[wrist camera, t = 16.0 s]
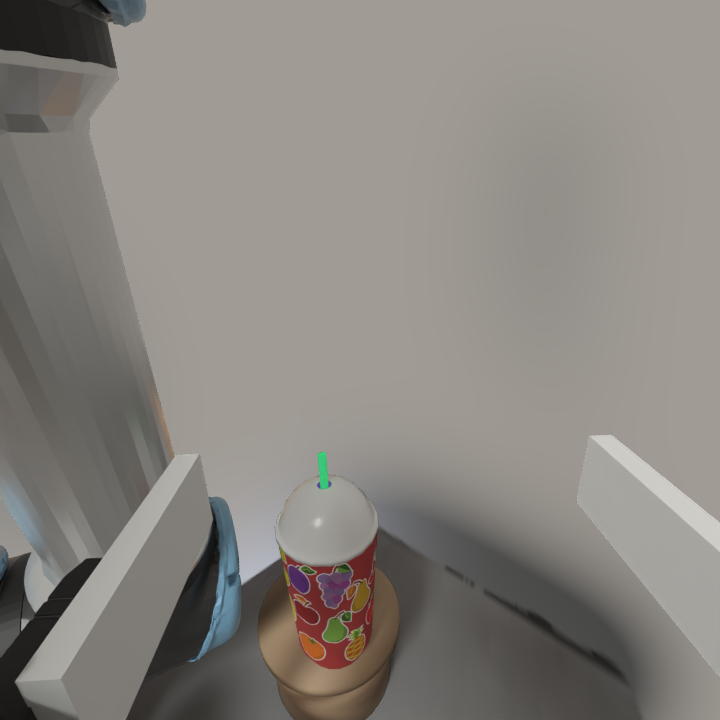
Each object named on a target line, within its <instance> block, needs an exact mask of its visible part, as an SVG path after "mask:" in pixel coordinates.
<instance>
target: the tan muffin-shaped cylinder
mask: <svg viewBox="0 0 720 720" xmlns="http://www.w3.org/2000/svg"><path fill="white" fill-rule="evenodd" d="M398 632H399V604H398V599H397V596H396V593H395V590H394V588H393V586H392V584H391V583H390V581H389V579H388V578H387V577H386V575H385V574H384V573H383V572H382V571H381V570H380V569H379V568H377V567H376V566H375V583H374V602H373V621H372V633H371V637H370V640H369V643H368V645H367V646H366V648H365V649H364V651H363V652H362V654H361V655H360V656H359V657H358V659H356V660H355V661H354V662H353V663H352V664H350V665H349V666H346V667H343V668H341V669H327V668H324V667H321V666H319V665H318V664H317V663H315V662H314V661H312V660H311V659H310V658H309V657H308V656H306V654H305V653H304V651H303V649H302V647H301V646H300V641H299V637H298V632H297V628H296V623H295V618H294V614H293V609H292V605H291V600H290V595H289V591H288V586H287V582H286V577H285V573H283V574H282V575H281V576H280V577H279V578H278V579H277V580H276V582H275V583H274V584H273V585H272V587H271V588H270V590H269V591H268V593H267V595H266V597H265V599H264V601H263V604H262V606H261V609H260V614H259V619H258V637H259V643H260V648H261V653H262V656H263V659H264V661H265V663H266V665H267V667H268V669H269V670H270V671H271V673H272V674H273V675H274V677H275V678H276V679H277V685H278V690H279V694H280V697H281V700H282V703H283V705H284V706H285V708H286V710H287V711H288V713H289V714H290V715H291V716H292V717H293V718H294V719H295V720H365V719H366V718H367V717H368V716H369V715H370V714H371V713H372V712H373V711H374V710H375V708H376V707H377V706H378V704H379V703H380V701H381V699H382V697H383V695H384V693H385V690H386V687H387V684H388V680H389V673H390V656H391V654H392V652H393V649H394V647H395V644H396V641H397V638H398Z"/></svg>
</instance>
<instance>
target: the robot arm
mask: <svg viewBox="0 0 720 720" xmlns="http://www.w3.org/2000/svg"><path fill="white" fill-rule="evenodd" d="M145 13H146V2H145V0H0V499H1V500H2V502H3V503H4V505H5V506H6V508H7V509H8V511H9V512H10V514H11V515H12V517H13V518H14V520H15V521H16V523H17V524H18V526H19V527H20V529H21V530H22V532H23V533H24V535H25V536H26V538H27V539H28V541H29V542H30V544H31V545H32V547H33V550H32V552H30V553H27V554H23V555H20V556H17V557H13V558H8V553H7V551H6V549H5V548H4V547H3V546H0V720H126V718H127V716H128V713H129V711H130V709H131V707H132V704H133V702H134V700H135V697H136V695H137V693H138V691H139V688H140V686H141V684H142V682H143V681H145V680H148V679H150V678H152V677H154V676H156V675H159V674H161V673H163V672H165V671H168V670H170V669H172V668H174V667H176V666H179V665H181V664H183V663H185V662H194V661H196V660H199V659H200V657H202V656H203V655H204V654H205V653H206V652H208V651H210V650H212V649H214V648H216V647H218V646H220V645H222V644H224V643H225V642H227V641H228V640H229V639H231V638H232V637H233V635H234V634H235V633H236V631H237V629H238V627H239V624H240V620H241V613H242V589H241V580H240V575H239V556H238V548H237V542H236V536H235V530H234V526H233V521H232V517H231V513H230V510H229V507H228V504H227V503H226V501H225V500H224V499H223V498H220V497H213V498H211V497H208V492H207V487H206V482H205V477H204V472H203V467H202V463H201V458H200V454H181V455H176V456H174V452H173V449H172V445H171V441H170V437H169V434H168V430H167V426H166V423H165V419H164V415H163V411H162V407H161V403H160V400H159V396H158V392H157V388H156V384H155V381H154V377H153V373H152V370H151V366H150V362H149V358H148V355H147V351H146V347H145V343H144V340H143V335H142V331H141V328H140V324H139V320H138V317H137V313H136V309H135V305H134V301H133V297H132V294H131V290H130V286H129V283H128V279H127V275H126V271H125V267H124V264H123V260H122V257H121V252H120V248H119V245H118V241H117V237H116V234H115V229H114V226H113V222H112V218H111V214H110V210H109V207H108V203H107V199H106V195H105V192H104V188H103V184H102V180H101V176H100V173H99V169H98V165H97V161H96V158H95V154H94V150H93V146H92V142H91V139H90V135H89V129H90V118H91V116H92V115H93V114H94V112H95V111H96V109H97V108H98V107H99V105H100V104H101V103H102V101H103V100H104V98H105V97H106V96H107V94H108V93H109V92H110V90H111V89H112V87H113V86H114V85H115V83H116V82H117V81H118V79H119V78H118V72H117V67H116V62H115V57H114V52H113V48H112V43H111V38H110V34H109V29H108V22H113V23H114V24H120V25H123V26H124V27H125V26H128V25H129V24H130V23H134V22H139V21H141V20H142V19H143V17H144V16H145ZM576 502H577V503H578V505H579V506H580V507H581V508H582V510H583V511H584V512H585V513H586V515H587V516H588V517H589V518H590V519H591V521H592V522H593V523H594V524H595V525H596V527H597V528H598V529H599V530H600V532H601V533H602V534H603V535H604V537H605V538H606V539H607V540H608V542H609V543H610V544H611V545H612V546H613V548H614V549H615V550H616V551H617V553H618V554H619V555H620V556H621V557H622V559H623V560H624V561H625V562H626V564H627V565H628V566H629V567H630V568H631V570H632V571H633V572H634V573H635V574H636V576H637V577H638V578H639V579H640V581H641V582H642V583H643V584H644V586H645V587H646V588H647V589H648V591H649V592H650V593H651V594H652V595H653V597H654V598H655V599H656V600H657V602H658V603H659V604H660V605H661V606H662V608H663V609H664V610H665V611H666V613H667V614H668V615H669V616H670V618H671V619H672V620H673V621H674V622H675V624H676V625H677V626H678V627H679V628H680V630H681V631H682V632H683V633H684V635H685V636H686V637H687V638H688V639H689V641H690V642H691V643H692V645H693V646H694V647H695V648H696V649H697V651H698V652H699V653H700V654H701V656H702V657H703V658H704V659H705V660H706V662H707V663H708V664H709V665H710V667H711V668H712V669H713V670H714V672H715V673H716V674H717V675H718V676H719V678H720V523H719V522H718V521H717V520H715V519H714V518H713V517H712V516H711V515H709V514H708V513H707V512H706V511H704V510H703V509H702V508H701V507H700V506H698V505H697V504H696V503H695V502H694V501H692V500H691V499H690V498H689V497H687V496H686V495H685V494H683V493H682V492H681V491H680V490H679V489H677V488H676V487H675V486H674V485H672V484H671V483H670V482H669V481H668V480H666V479H665V478H664V477H663V476H662V475H660V474H659V473H658V472H657V471H655V470H654V469H653V468H651V467H650V466H649V465H648V464H647V463H646V462H644V461H643V460H642V459H640V458H639V457H638V456H637V455H635V454H634V453H633V452H632V451H631V450H629V449H628V448H627V447H626V446H625V445H623V444H622V443H621V442H620V441H618V440H617V439H616V438H615V437H614V436H612V435H600V436H589V441H588V446H587V451H586V456H585V460H584V465H583V470H582V475H581V480H580V484H579V489H578V494H577V499H576Z"/></svg>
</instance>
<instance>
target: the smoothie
mask: <svg viewBox="0 0 720 720" xmlns="http://www.w3.org/2000/svg"><path fill="white" fill-rule="evenodd" d="M318 463H319V476H316V477H313V478H311V479H308V480H306V481H305V482H303V483H302V484H301V485H299V486H298V487H297V488H296V489H295V490H294V491H293V493H292V494H291V495H290V497H289V498H288V499H287V501H286V503H285V505H284V508H283V510H282V511H281V512H280V514H279V515H278V518H277V521H276V525H275V534H276V541H277V543H278V545H279V549H280V554H281V559H282V563H283V568H284V573H285V577H286V582H287V586H288V591H289V595H290V600H291V605H292V609H293V614H294V618H295V623H296V628H297V632H298V637H299V641H300V646H301V647H302V649H303V651H304V653H305V654H306V656H308V657H309V658H310V659H311V660H312V661H314V662H315V663H317V664H318V665H319V666H321V667H324V668H327V669H341V668H343V667H346V666H349V665H350V664H352V663H353V662H354V661H355V660H356V659H358V657H359V656H360V655H361V654H362V652H363V651H364V649H365V648H366V646H367V645H368V643H369V640H370V637H371V633H372V621H373V602H374V583H375V565H376V546H377V531H378V514H377V512H376V509H375V507H374V505H373V504H372V503H371V502H370V501H369V500H368V499H367V497H366V495H365V494H364V492H363V491H362V490H361V489H360V488H359V487H357V486H356V485H355V484H354V483H353V482H351V481H350V480H348V479H346V478H344V477H341V476H336V475H328V474H327V460H326V453H325V452H320V453H318Z"/></svg>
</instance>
